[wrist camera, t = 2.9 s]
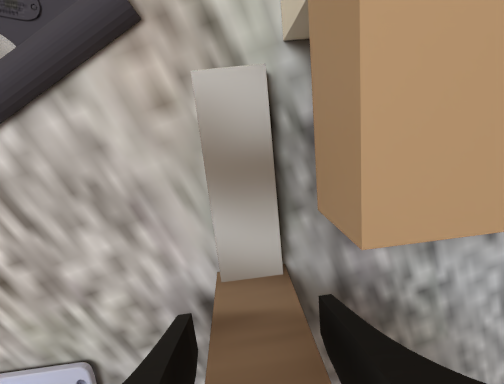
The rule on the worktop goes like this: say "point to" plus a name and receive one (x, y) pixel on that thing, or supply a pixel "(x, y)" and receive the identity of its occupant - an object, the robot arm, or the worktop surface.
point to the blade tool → (249, 239)
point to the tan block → (406, 115)
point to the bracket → (53, 42)
